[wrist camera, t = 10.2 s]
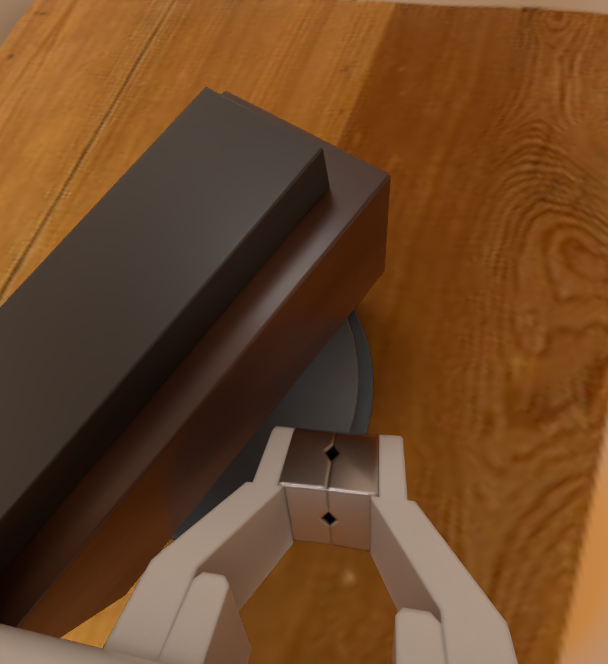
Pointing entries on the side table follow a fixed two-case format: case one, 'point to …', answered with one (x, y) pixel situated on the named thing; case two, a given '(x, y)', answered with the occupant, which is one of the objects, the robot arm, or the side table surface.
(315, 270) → the remote caddy
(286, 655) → the side table surface
